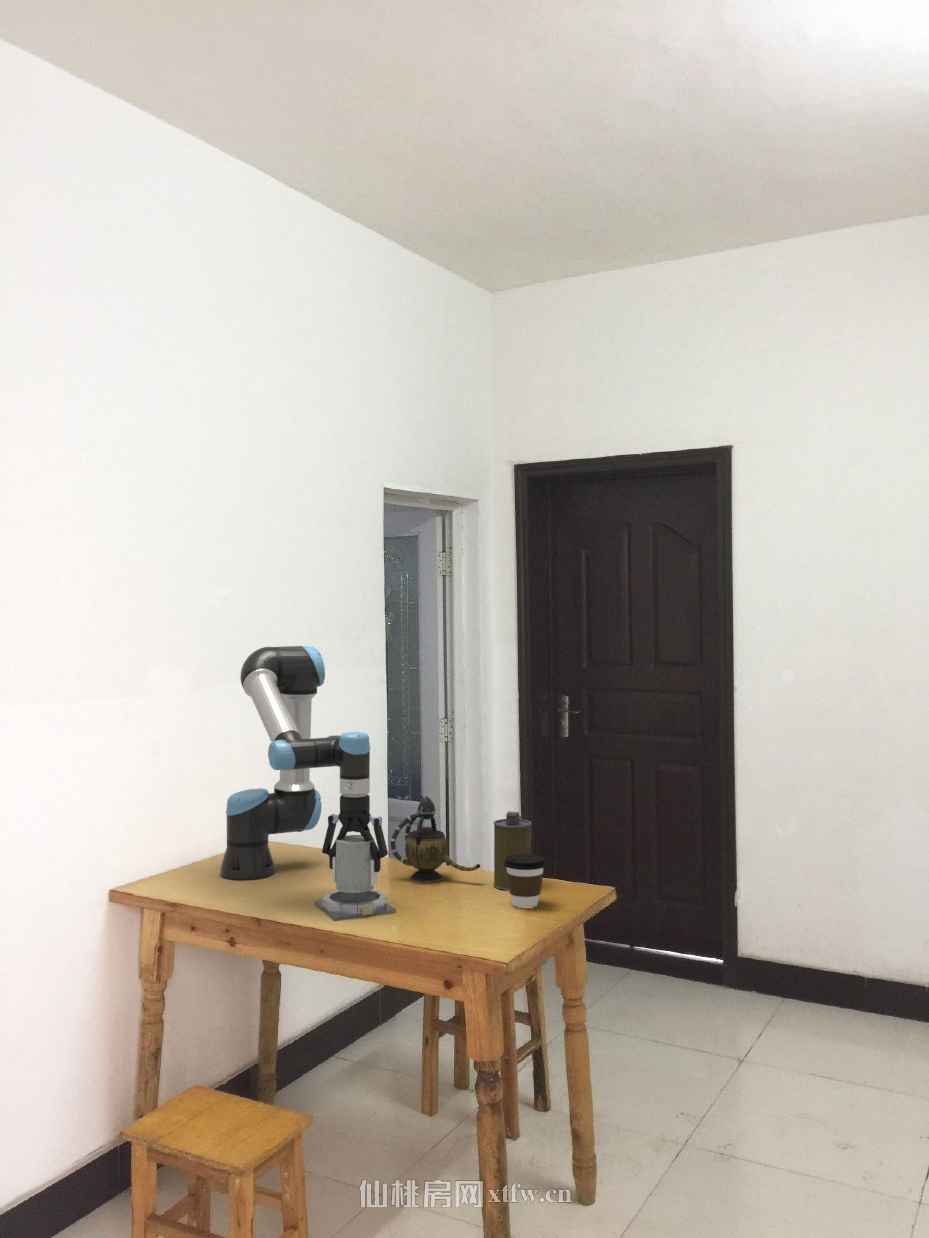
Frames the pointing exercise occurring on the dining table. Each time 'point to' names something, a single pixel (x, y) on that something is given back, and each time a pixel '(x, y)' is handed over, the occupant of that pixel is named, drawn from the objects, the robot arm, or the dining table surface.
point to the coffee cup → (524, 878)
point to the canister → (509, 844)
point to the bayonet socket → (354, 904)
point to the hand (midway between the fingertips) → (354, 883)
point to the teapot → (425, 846)
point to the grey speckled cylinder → (353, 864)
